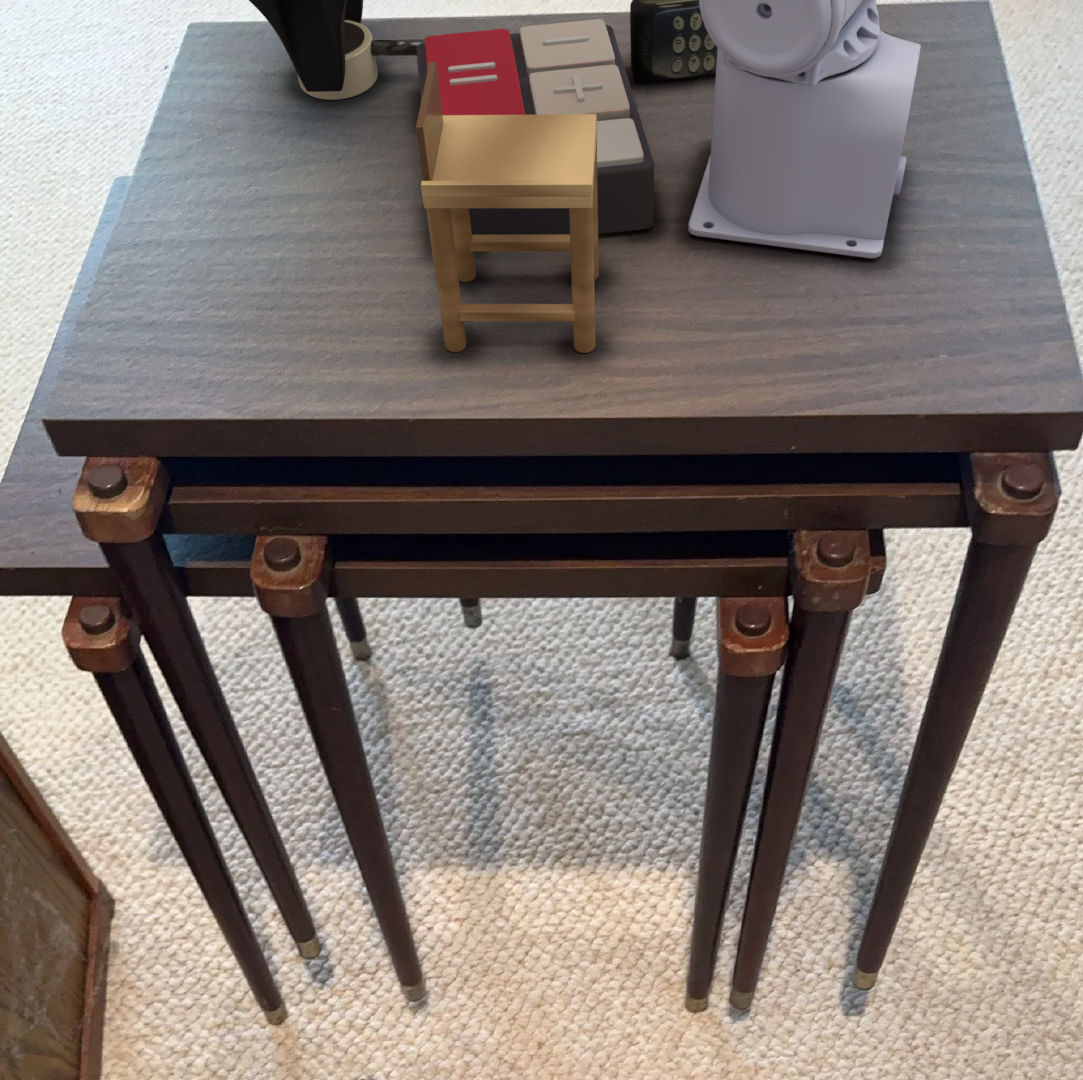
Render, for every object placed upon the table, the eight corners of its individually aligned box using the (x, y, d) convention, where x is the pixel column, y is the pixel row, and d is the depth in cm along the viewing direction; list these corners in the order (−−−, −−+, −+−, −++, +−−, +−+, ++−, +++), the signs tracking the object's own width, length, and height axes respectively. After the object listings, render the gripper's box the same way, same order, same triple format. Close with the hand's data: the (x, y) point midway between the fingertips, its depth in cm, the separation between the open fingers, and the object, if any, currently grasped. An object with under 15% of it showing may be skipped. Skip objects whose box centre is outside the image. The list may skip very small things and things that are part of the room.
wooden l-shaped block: (597, 125, 57) (596, 52, 54) (592, 208, 53) (591, 134, 50) (439, 126, 57) (430, 53, 54) (424, 209, 53) (413, 135, 51)
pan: (292, 100, 73) (284, 60, 72) (306, 57, 76) (298, 18, 74) (431, 99, 73) (427, 59, 71) (440, 56, 76) (436, 16, 74)
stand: (599, 269, 63) (597, 125, 57) (595, 353, 59) (592, 208, 53) (457, 269, 63) (439, 126, 57) (444, 352, 59) (424, 209, 53)
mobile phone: (632, 10, 69) (909, -22, 69) (624, -18, 71) (894, -49, 71) (633, 93, 73) (896, 62, 73) (626, 65, 75) (882, 35, 75)
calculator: (611, 8, 71) (656, 152, 61) (612, 81, 74) (654, 229, 64) (413, 28, 71) (426, 176, 61) (423, 100, 74) (436, 252, 64)
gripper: (238, -254, 68) (289, -8, 79) (172, -132, 59) (240, 128, 69) (369, -258, 67) (403, -9, 78) (324, -136, 58) (368, 127, 69)
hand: (334, 55), depth 74 cm, fingers open, 6 cm apart
